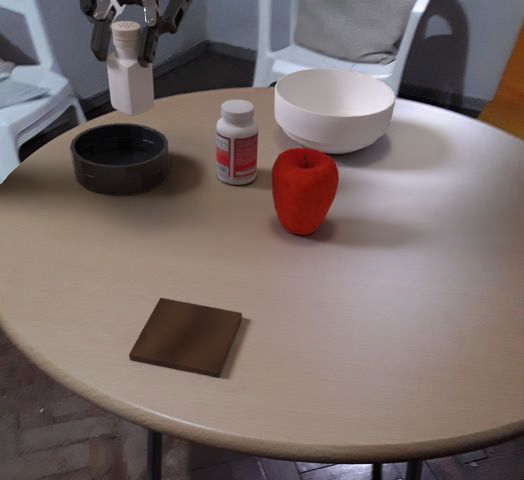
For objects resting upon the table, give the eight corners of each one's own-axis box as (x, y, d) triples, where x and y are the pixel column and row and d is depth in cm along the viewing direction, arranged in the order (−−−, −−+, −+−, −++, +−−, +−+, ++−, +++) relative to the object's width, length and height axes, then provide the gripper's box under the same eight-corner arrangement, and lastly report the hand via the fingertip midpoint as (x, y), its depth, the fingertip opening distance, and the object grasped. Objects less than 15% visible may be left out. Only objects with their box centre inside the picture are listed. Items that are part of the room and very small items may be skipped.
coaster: (129, 359, 68) (128, 354, 67) (160, 302, 75) (160, 297, 74) (218, 377, 66) (218, 372, 66) (242, 317, 73) (242, 312, 73)
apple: (333, 214, 91) (344, 143, 83) (328, 248, 84) (338, 175, 77) (273, 206, 91) (278, 135, 84) (263, 239, 85) (267, 166, 78)
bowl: (252, 125, 110) (254, 76, 105) (346, 109, 117) (353, 62, 112) (308, 177, 98) (313, 125, 92) (409, 155, 105) (420, 105, 99)
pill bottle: (260, 170, 99) (264, 100, 91) (250, 189, 95) (253, 117, 87) (222, 164, 100) (223, 94, 92) (211, 182, 96) (210, 110, 88)
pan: (58, 186, 92) (53, 158, 89) (98, 144, 102) (94, 117, 99) (150, 202, 91) (148, 173, 88) (181, 157, 101) (180, 130, 98)
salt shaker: (131, 119, 75) (124, 34, 68) (109, 108, 76) (100, 24, 70) (156, 109, 77) (151, 26, 70) (134, 98, 79) (127, 16, 72)
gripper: (76, -119, 68) (46, 36, 68) (203, -106, 66) (173, 53, 66) (102, -71, 75) (75, 68, 75) (216, -58, 74) (189, 85, 74)
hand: (121, 60), depth 71 cm, fingers closed on salt shaker, 4 cm apart
